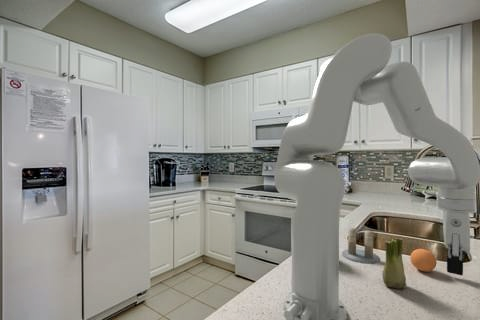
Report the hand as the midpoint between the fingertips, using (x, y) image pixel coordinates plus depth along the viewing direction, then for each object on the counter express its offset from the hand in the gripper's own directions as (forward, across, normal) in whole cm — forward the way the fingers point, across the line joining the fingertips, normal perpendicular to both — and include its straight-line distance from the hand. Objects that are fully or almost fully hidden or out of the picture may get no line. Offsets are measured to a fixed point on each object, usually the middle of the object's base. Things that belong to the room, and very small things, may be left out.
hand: (454, 272), depth 66 cm
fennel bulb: (+2, -15, +12) cm, 19 cm away
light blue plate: (+1, 0, +23) cm, 23 cm away
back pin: (+1, 0, +26) cm, 26 cm away
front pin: (+1, 0, +21) cm, 21 cm away
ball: (-2, 0, +7) cm, 7 cm away
